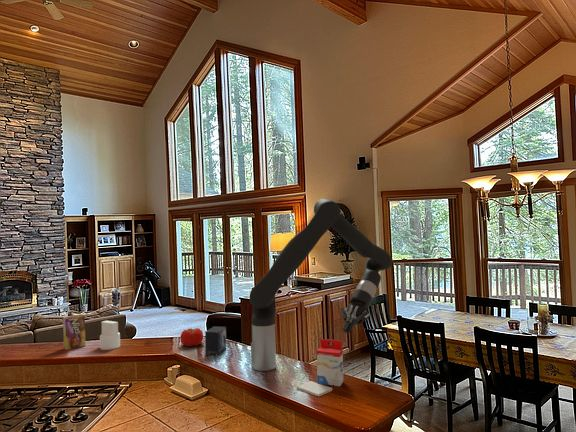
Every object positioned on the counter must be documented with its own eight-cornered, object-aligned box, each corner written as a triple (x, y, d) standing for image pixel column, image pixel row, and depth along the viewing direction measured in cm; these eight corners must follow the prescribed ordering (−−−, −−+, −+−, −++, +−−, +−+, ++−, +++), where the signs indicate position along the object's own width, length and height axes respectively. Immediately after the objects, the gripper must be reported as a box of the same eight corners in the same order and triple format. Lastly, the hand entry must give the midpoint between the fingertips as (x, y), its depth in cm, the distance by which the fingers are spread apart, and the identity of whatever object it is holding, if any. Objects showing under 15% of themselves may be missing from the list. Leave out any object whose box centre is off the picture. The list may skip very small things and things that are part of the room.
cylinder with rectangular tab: (95, 348, 203) (95, 323, 203) (112, 343, 210) (112, 319, 211) (107, 350, 198) (107, 324, 198) (124, 345, 206) (123, 320, 206)
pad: (296, 388, 145) (296, 386, 145) (310, 383, 150) (310, 380, 150) (318, 396, 138) (318, 394, 138) (332, 390, 143) (332, 388, 143)
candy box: (83, 344, 210) (82, 313, 210) (85, 346, 207) (85, 314, 207) (63, 348, 204) (62, 316, 204) (65, 350, 201) (65, 317, 201)
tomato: (204, 341, 209) (204, 326, 209) (201, 347, 198) (201, 331, 198) (182, 342, 209) (182, 327, 209) (178, 348, 198) (177, 332, 198)
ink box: (316, 383, 149) (315, 342, 150) (321, 379, 154) (319, 338, 154) (340, 386, 146) (339, 344, 146) (344, 381, 151) (342, 340, 151)
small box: (218, 356, 185) (218, 332, 185) (204, 355, 186) (204, 331, 186) (227, 349, 195) (226, 326, 195) (213, 348, 196) (213, 325, 196)
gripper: (345, 287, 168) (327, 324, 160) (373, 289, 159) (355, 329, 150) (354, 298, 172) (336, 335, 163) (382, 301, 162) (364, 341, 154)
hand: (345, 332), depth 157 cm, fingers closed
